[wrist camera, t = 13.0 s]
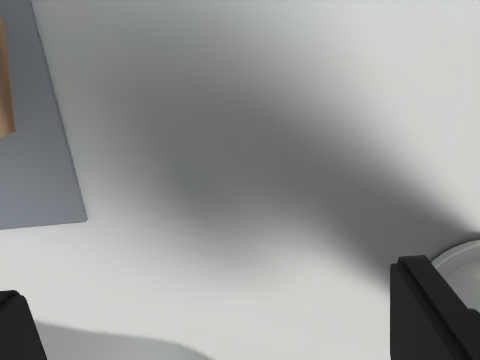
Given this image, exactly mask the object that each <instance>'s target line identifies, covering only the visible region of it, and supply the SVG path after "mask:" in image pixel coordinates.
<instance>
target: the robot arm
mask: <svg viewBox="0 0 480 360" xmlns="http://www.w3.org/2000/svg"><path fill="white" fill-rule="evenodd" d="M390 356H391V360H480V240H475V241H470V242H466V243H463V244H461V245H458V246H455V247H453V248H451V249H449V250H448V251H446V252H444V253H442V254H441V255H440V256H438V257H437V258H436V259H435V260H433V261H432V262H430V261H429V260H428V258H427V257H426V256H424V255H418V256H406V257H399V258H398V262H397V263H396V264H391V267H390ZM0 360H47V357H46V354H45V352H44V349H43V346H42V343H41V341H40V337H39V334H38V332H37V329H36V326H35V323H34V320H33V317H32V315H31V312H30V309H29V306H28V303H27V300H26V298H25V297H24V296H22V295H20V293H18V292H17V291H15V290H9V291H0Z"/></svg>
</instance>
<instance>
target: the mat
mask: <svg viewBox="0 0 480 360" xmlns="http://www.w3.org/2000/svg"><path fill="white" fill-rule="evenodd" d="M0 17H3V25H4V34H5V43H6V52H7V61H8V70H9V79H10V88H11V97H12V106H13V115H14V124H15V132H13V133H10V134H8V135H6V136H4V137H1V138H0V230H3V229H14V228H25V227H36V226H47V225H58V224H69V223H80V222H86V221H87V219H88V218H87V215H86V211H85V207H84V203H83V199H82V196H81V192H80V188H79V184H78V180H77V177H76V173H75V169H74V165H73V161H72V158H71V154H70V150H69V146H68V143H67V139H66V135H65V131H64V127H63V124H62V120H61V116H60V112H59V108H58V105H57V101H56V97H55V93H54V89H53V86H52V82H51V78H50V74H49V70H48V67H47V63H46V59H45V55H44V52H43V48H42V44H41V40H40V36H39V33H38V29H37V25H36V21H35V17H34V14H33V10H32V6H31V2H30V0H0Z"/></svg>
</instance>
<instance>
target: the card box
mask: <svg viewBox="0 0 480 360" xmlns="http://www.w3.org/2000/svg"><path fill="white" fill-rule="evenodd" d="M13 132H15V124H14V115H13V106H12V97H11V88H10V79H9V70H8V61H7V52H6V43H5V34H4V25H3V17H0V138H1V137H4V136H6V135H8V134H10V133H13Z"/></svg>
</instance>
